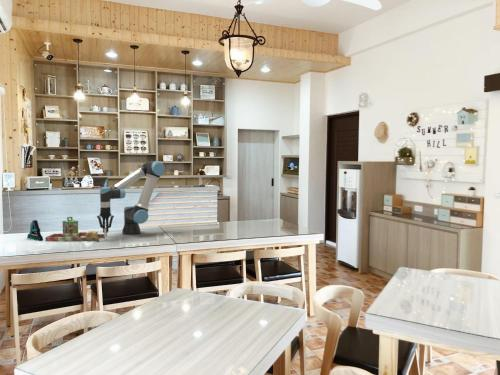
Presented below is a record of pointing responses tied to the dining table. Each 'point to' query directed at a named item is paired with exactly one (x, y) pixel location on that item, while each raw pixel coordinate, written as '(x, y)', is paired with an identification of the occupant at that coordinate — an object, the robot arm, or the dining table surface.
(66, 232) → the green lantern
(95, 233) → the ochre block
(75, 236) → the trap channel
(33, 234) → the decorative sign
